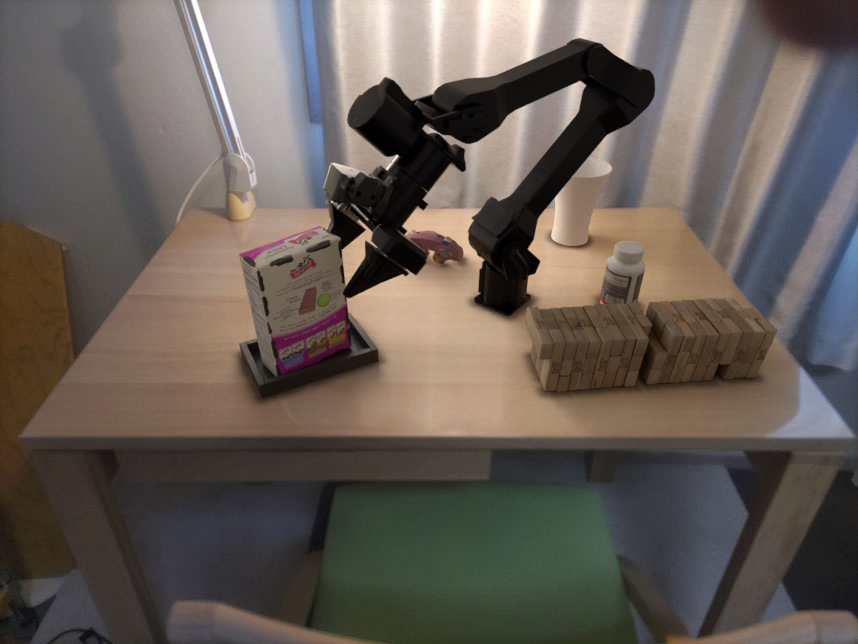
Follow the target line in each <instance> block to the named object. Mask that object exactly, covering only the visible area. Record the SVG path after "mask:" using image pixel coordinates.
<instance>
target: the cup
mask: <svg viewBox="0 0 858 644" xmlns="http://www.w3.org/2000/svg"><path fill="white" fill-rule="evenodd" d="M613 171H614V168H613V166H612V164H611V163H609V162H608V161H606V160H605V159H601V158H598V157H594V156H591V155H590V156H589V157H588V158H587V159H586V161H585V162H584V163H583V164H582V166H581V167H580V168H579V169H578V170H577V172H576V173H575V174H574V175H573V176H572V178H571V179H570V180H569V181H568V182H567V184H566V185H565V186H564V187H563V188H562V190H561V191H560V192H559V193H558V195H557V196H556V197H555V198H554V221H553V222H554V223H553V226H552V230H551V234H550V237H551V239H552V240H553V241H554V242H555V243H557V244H559V245H562V246H566V247H579V246H583V245H585V244H587V242H588V241H589V230H590V225H591V219H592V215H593V213H594V210H595V207H596V204H597V201H598V199H599V197H600V195H601V192H602V191H603V190H604V188H605V186H606V183H607V182H608V179H609V178H610V176H611V174H612V173H613Z"/></svg>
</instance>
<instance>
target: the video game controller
mask: <svg viewBox="0 0 858 644" xmlns="http://www.w3.org/2000/svg"><path fill="white" fill-rule="evenodd" d="M405 236H407V237H408V238H409V239H411V240H412V241H413V242H415V243H416V244H417V245H418V246H419V247H420V248H421V249H422V250H423V251H424V252H426V261H428V258H429V256H430V251H431V252H433V255H432V259H431V260H433V261H434V263H437V264H439V265H443V264H445V263H446V262H447V261H451V260H452V261H454V262H460V261H461V260H462V259H463V258H464V248H463V247H462V246H461V245H459V244H458V242H457V241H455V239H454V238H452V237H450V236H444V235H443V234H440V233H438V232H436V231H434V230H420V231H416V230H414V229H411V230H410V231H408V233H406V234H405Z"/></svg>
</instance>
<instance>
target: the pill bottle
mask: <svg viewBox="0 0 858 644" xmlns="http://www.w3.org/2000/svg"><path fill="white" fill-rule="evenodd" d="M644 253H645V247H644V246H643V245H642V244H641V243H639V242H636V241H633V240H620V241H617V242H616V243H615V245H614V249H613V255H611V256H610V257H609V258H608V259H607V260H606V264H605V270H604V274H603V280H602V283H601V290H600V296H599V304H604V305H606V304H615V305H616V304H627V303H635V302H636V303H637V304H638V300H639V296H640V292H641V287H642V285H643V280H644V276H645V271H646V263H645V262H644V259H643V258H644Z"/></svg>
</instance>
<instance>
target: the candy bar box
mask: <svg viewBox="0 0 858 644" xmlns="http://www.w3.org/2000/svg"><path fill="white" fill-rule="evenodd" d="M238 256H239V260H240V266H241V270H242V274H243V279H244V283H245V287H246V292H247V293H246V294H247V297H248V302H249V306H250V312H251V317H252V321H253V326H254V331H255V336H256V339H257V340H258V345H259V349H260V354H261V359H262V363H263V364H264V366H265V367H266V368H267V369H268V370H270V371H271V372H272V373H273V374H274V376H275V377H276V376H280V375H283V374H286V373H289V372H293V371H296V370H299V369H302V368H306V367H309V366H312V365H315V364H317V363H319V362H321V361H323V360H325V359H327V358H329V357H331V356H333V355H335V354H337V353H339V352H341V351H343V350H345V349H347V348H349V347H351V346H352V344H351V335H350V325H349V315H348V313H349V308H348V298H347V297H345V296H344V295H343V291H344V289H345V288H346V286H347V285H346V278H345V268H344V259H343V250H342V247H341V238H340V237H338V236H336V235H335V234H333V233H331V232H330V231H328V230H327V229H326V228H325V227H324V226H321V225H316V226H315V227H311V228H309V229H306V230H303V231H300V232H298V233H295V234H292V235H289V236H286V237H283V238H280V239H277V240H275V241H272V242H269V243H267V244H263V245H261V246H260V245H259V246H257V247H254V248H252V249H249V250H246V251H243V252H240V253H239V254H238Z"/></svg>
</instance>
